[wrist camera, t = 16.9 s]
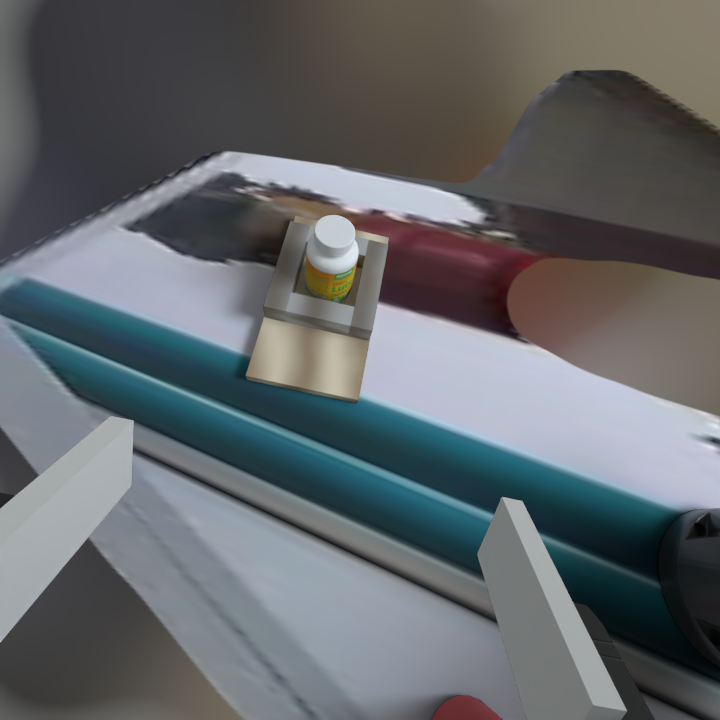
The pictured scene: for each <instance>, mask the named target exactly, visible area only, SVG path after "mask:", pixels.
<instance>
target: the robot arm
mask: <svg viewBox="0 0 720 720" xmlns="http://www.w3.org/2000/svg"><path fill="white" fill-rule="evenodd" d="M133 423H134V421H133V420H128V419H123V418H118V417H113V416H110V417H109V418H108V419H107V420H105V421H104V422H103V423H102V424H101V425H100V426H98V427H97V428H96V429H95V430H94V431H92V432H91V433H90V434H89V435H88V436H86V437H85V438H84V439H83V440H82V441H80V442H79V443H78V444H77V445H76V446H74V447H73V448H72V449H71V450H70V451H68V452H67V453H66V454H65V455H64V456H62V457H61V458H60V459H59V460H58V461H56V462H55V463H54V464H53V465H52V466H51V467H49V468H48V469H47V470H46V471H45V472H43V473H42V474H41V475H40V476H39V477H37V478H36V479H35V480H34V481H33V482H32V483H30V484H29V485H28V486H27V487H26V488H24V489H23V490H22V491H21V492H20V493H18V494H17V495H16V496H14V495H9V494H4V493H0V642H1V641H2V640H3V638H4V637H5V636H6V635H7V634H8V632H9V631H10V630H11V629H12V628H13V627H14V625H15V624H16V623H17V622H18V621H19V619H20V618H21V617H22V616H23V615H24V613H25V612H26V611H27V610H28V609H29V607H30V606H31V605H32V604H33V603H34V601H35V600H36V599H37V598H38V597H39V595H40V594H41V593H42V592H43V591H44V590H45V588H46V587H47V586H48V584H49V583H50V582H51V581H52V580H53V578H54V577H55V576H56V575H57V574H58V573H59V571H60V570H61V569H62V568H63V567H64V566H65V564H66V563H67V562H68V561H69V560H70V558H71V557H72V556H73V555H74V553H75V552H76V551H77V550H78V548H79V547H80V546H81V545H82V544H83V543H84V541H85V540H86V539H87V538H88V537H89V536H90V534H91V533H92V532H93V531H94V530H95V528H96V527H97V526H98V525H99V524H100V522H101V521H102V520H103V519H104V518H105V516H106V515H107V514H108V513H109V512H110V510H111V509H112V508H113V507H114V506H115V504H116V503H117V502H118V501H119V500H120V498H121V497H122V496H123V495H124V494H125V492H126V491H127V490H128V489H129V488H130V486H131V477H132V450H133ZM477 555H478V558H479V562H480V565H481V568H482V572H483V575H484V579H485V582H486V585H487V589H488V592H489V595H490V599H491V602H492V605H493V609H494V612H495V615H496V619H497V622H498V625H499V629H500V632H501V635H502V639H503V642H504V646H505V649H506V652H507V656H508V659H509V662H510V666H511V669H512V672H513V676H514V679H515V682H516V686H517V689H518V692H519V696H520V699H521V702H522V706H523V709H524V713H525V716H526V719H527V720H655V719H654V718H653V716H652V714H651V712H650V710H649V708H648V707H647V705H646V703H645V701H644V699H643V697H642V696H641V694H640V692H639V690H638V688H637V686H636V685H635V683H634V681H633V679H632V677H631V675H630V674H629V672H628V670H627V668H626V666H625V664H624V662H621V657H620V655H619V653H618V651H617V650H616V648H615V646H613V645H612V640H611V639H610V637H609V635H608V633H607V631H606V629H605V628H604V626H603V624H602V622H601V621H600V620H599V619H598V618H597V617H596V616H595V614H594V613H593V612H592V611H591V610H590V609H589V608H588V606H587V605H583V604H578V603H573V602H572V600H571V598H570V596H569V594H568V592H567V590H566V588H565V586H564V584H563V582H562V580H561V578H560V576H559V574H558V572H557V570H556V568H555V566H554V564H553V562H552V560H551V558H550V556H549V554H548V552H547V550H546V548H545V545H544V543H543V541H542V539H541V537H540V535H539V533H538V531H537V529H536V527H535V525H534V523H533V521H532V519H531V517H530V515H529V513H528V511H527V509H526V507H525V505H524V503H523V501H519V500H514V499H510V498H505V497H502V498H501V500H500V503H499V505H498V507H497V510H496V512H495V514H494V517H493V519H492V521H491V524H490V526H489V528H488V530H487V533H486V535H485V537H484V540H483V542H482V544H481V547H480V549H479V551H478V554H477ZM659 576H660V582H661V587H662V591H663V594H664V598H665V600H666V603H667V606H668V608H669V610H670V612H671V614H672V616H673V618H674V620H675V622H676V624H677V625H678V627H679V628H680V630H681V631H682V633H683V634H684V636H685V637H686V638H687V639H688V641H689V642H690V643H691V644H692V645H693V646H694V647H695V648H696V649H697V650H698V651H699V652H700V653H701V654H702V655H703V656H704V657H705V658H707V659H708V660H709V661H711V662H712V663H714V664H715V665H717V666H718V667H720V508H714V509H700V510H693V511H690V512H687V513H685V514H683V515H681V516H680V517H678V518H677V519H676V520H675V521H674V522H673V523H672V524H671V525H670V526H669V528H668V529H667V531H666V533H665V535H664V537H663V540H662V543H661V547H660V552H659Z"/></svg>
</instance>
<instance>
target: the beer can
mask: <svg viewBox="0 0 720 720" xmlns="http://www.w3.org/2000/svg"><path fill="white" fill-rule="evenodd" d="M432 720H503V719H502V718H500V717H499V716H498V715H497V714H496V713H495V712H493V711H492V710H491V709H490V708H489V707H488V706H486V705H485V704H484V703H483V702H482V701H481V700H479V699H476V698H474V697H471V696H455V697H453V698H451V699H448V700H446V701H445V702H444V703H443V704H442V705H441V706H440V707H439V708H438V709H437V711H436V712H435V714H434V716H433V718H432Z"/></svg>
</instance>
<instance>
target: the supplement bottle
mask: <svg viewBox="0 0 720 720" xmlns="http://www.w3.org/2000/svg"><path fill="white" fill-rule="evenodd" d="M358 254H359V249H358V245H357V242H356V241H355V229H354V226H353V225H352V223H351V222H350V221H349V220H347V219H346V218H344V217H341V216H338V215H328V216H325V217H323V218H321V219H320V220H319V221H318V222H317V223H316V225H315V229H314V234H313V235H312V236H311V237H310V239H309V240H308V243H307V249H306V273H305V287H306V290H307V293H308V294H309V296H310V297H314V298H318V299H323V300H327V301H331V302H336V303H340V302H342V301H343V300H345V299H346V298H347V296H348V295H349V293H350V291H351V287H352V283H353V278H354V274H355V269H356V264H357V260H358Z"/></svg>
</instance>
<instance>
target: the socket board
mask: <svg viewBox="0 0 720 720" xmlns="http://www.w3.org/2000/svg"><path fill="white" fill-rule="evenodd" d="M317 222H318V221H316V220H312V219H308V218H304V217H299V216H295V220H294V222H293V221H290V224H289V227H288V230H287V233H286V236H285V239H284V242H283V246H282V249H281V252H280V255H279V258H278V261H277V264H276V268H275V271H274V274H273V277H272V280H271V283H270V286H269V290H268V293H267V296H266V299H265V302H264V305H263V308H264V319H263V322H262V325H261V328H260V331H259V335H258V338H257V341H256V344H255V347H254V351H253V354H252V357H251V360H250V363H249V367H248V370H247V373H246V379H247V380H250V381H255V382H260V383H264V384H269V385H274V386H278V387H283V388H288V389H292V390H297V391H301V392H306V393H311V394H315V395H320V396H325V397H329V398H334V399H339V400H343V401H348V402H353V403H357V402H358V399H359V394H360V389H361V383H362V378H363V373H364V367H365V362H366V357H367V351H368V346H369V341H370V336H371V333H372V330H373V324H374V319H375V314H376V308H377V303H378V298H379V292H380V287H381V282H382V276H383V271H384V266H385V260H386V255H387V249H388V240H389V238H387V237H383V236H379V235H375V234H370V233H366V232H362V231H358V230H355V241H356V242H357V245H358V249H359V254H358V260H357V264H356V269H355V274H354V278H353V283H352V287H351V291H350V293H349V295H348V296H347V298H346V299H345V300H343V301H342V302H340V303H336V302H331V301H327V300H323V299H318V298H314V297H310V296H309V294H308V293H307V290H306V287H305V273H306V249H307V243H308V240H309V239H310V237H311V236H312V235H313V234H314V229H315V225H316V223H317Z"/></svg>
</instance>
